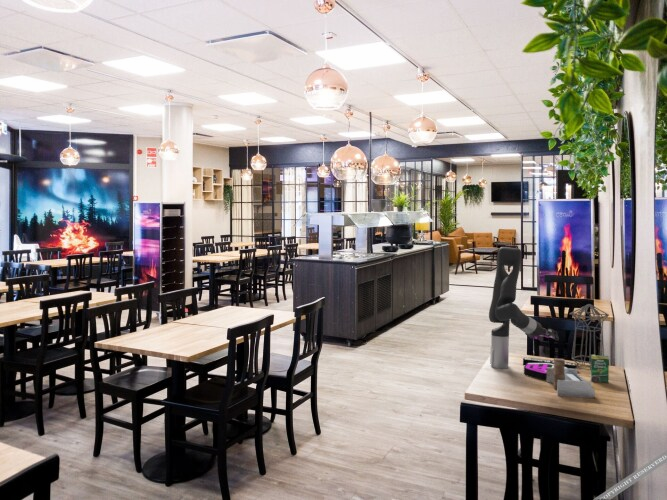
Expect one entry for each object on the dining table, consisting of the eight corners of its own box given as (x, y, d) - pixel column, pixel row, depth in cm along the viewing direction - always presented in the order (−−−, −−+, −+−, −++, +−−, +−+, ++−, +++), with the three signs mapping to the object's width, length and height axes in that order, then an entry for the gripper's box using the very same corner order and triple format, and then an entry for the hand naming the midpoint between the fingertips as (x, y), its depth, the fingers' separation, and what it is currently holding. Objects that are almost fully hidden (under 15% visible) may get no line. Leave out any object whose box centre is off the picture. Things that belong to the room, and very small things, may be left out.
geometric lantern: (580, 362, 300) (582, 301, 298) (609, 369, 287) (611, 304, 286) (566, 367, 290) (567, 303, 289) (594, 373, 278) (596, 307, 276)
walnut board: (554, 389, 250) (555, 359, 250) (553, 387, 253) (554, 358, 253) (563, 389, 250) (564, 360, 249) (562, 387, 253) (562, 358, 252)
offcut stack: (572, 393, 245) (572, 380, 244) (564, 385, 256) (564, 373, 256) (580, 394, 244) (581, 381, 244) (572, 386, 256) (572, 374, 256)
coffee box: (590, 381, 264) (591, 355, 263) (590, 379, 266) (590, 354, 266) (608, 383, 260) (609, 357, 260) (608, 381, 263) (608, 355, 262)
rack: (557, 395, 241) (558, 380, 240) (546, 381, 263) (546, 367, 263) (594, 397, 238) (594, 382, 238) (579, 383, 261) (579, 369, 260)
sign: (524, 363, 298) (515, 377, 272) (524, 357, 298) (515, 369, 272) (577, 370, 286) (573, 384, 259) (577, 363, 286) (573, 377, 259)
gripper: (543, 317, 247) (564, 331, 254) (518, 319, 259) (538, 332, 266) (541, 332, 244) (562, 346, 251) (515, 334, 256) (536, 346, 263)
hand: (550, 339), depth 258 cm, fingers open, 8 cm apart
